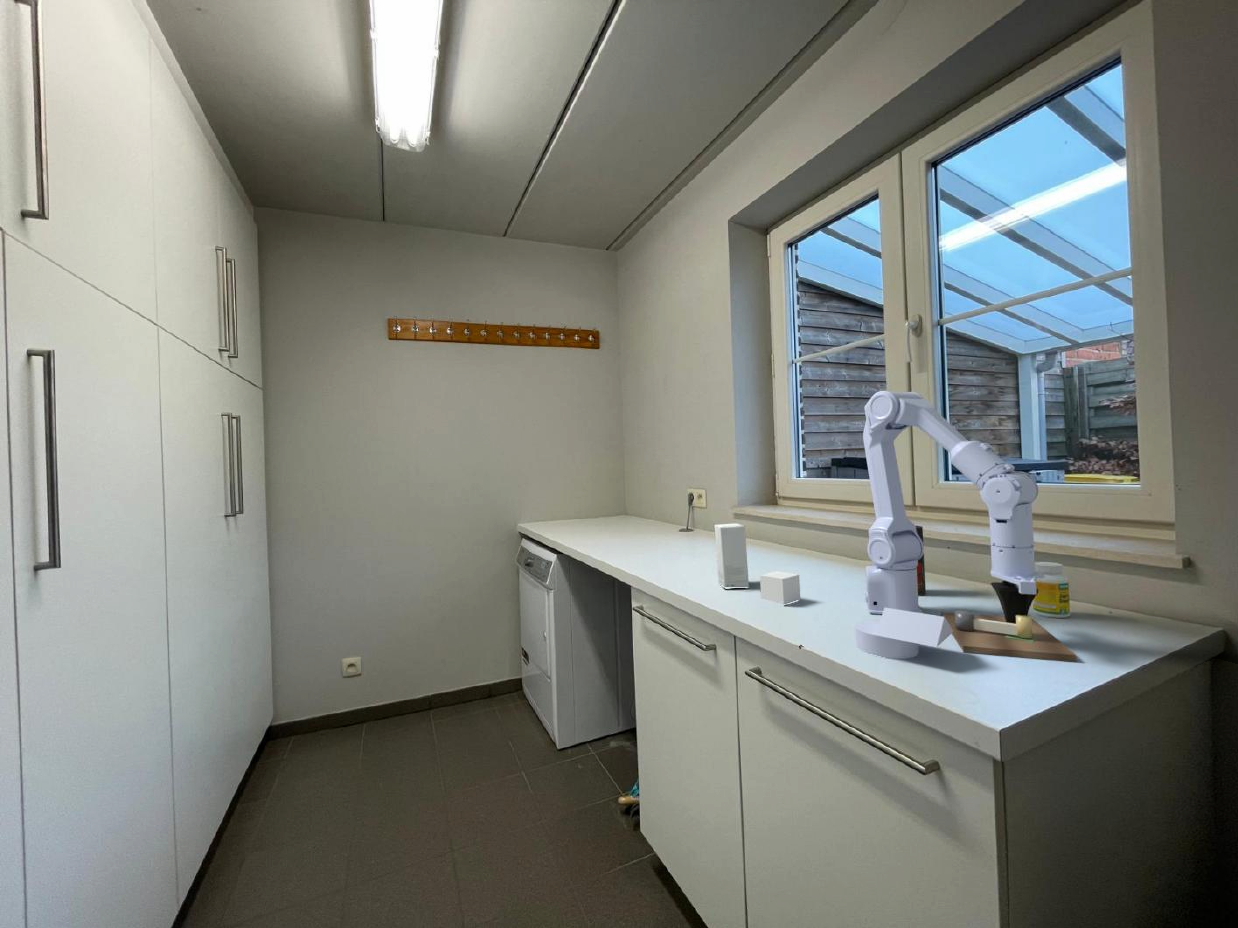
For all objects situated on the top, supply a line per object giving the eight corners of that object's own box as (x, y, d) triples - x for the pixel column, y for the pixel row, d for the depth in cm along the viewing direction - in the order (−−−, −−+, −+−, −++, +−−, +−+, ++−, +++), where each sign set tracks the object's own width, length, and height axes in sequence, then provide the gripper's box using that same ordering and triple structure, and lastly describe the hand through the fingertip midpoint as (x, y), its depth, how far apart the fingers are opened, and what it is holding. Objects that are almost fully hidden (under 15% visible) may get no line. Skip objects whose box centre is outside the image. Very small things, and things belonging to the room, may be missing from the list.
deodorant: (926, 590, 118) (923, 525, 118) (925, 596, 113) (922, 528, 113) (896, 588, 121) (893, 524, 121) (894, 594, 116) (891, 527, 116)
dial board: (963, 652, 81) (963, 645, 81) (941, 617, 98) (941, 611, 98) (1076, 661, 75) (1076, 654, 75) (1031, 623, 93) (1031, 617, 93)
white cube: (761, 601, 115) (759, 574, 115) (777, 596, 119) (776, 570, 119) (783, 606, 110) (782, 578, 110) (800, 601, 114) (799, 574, 114)
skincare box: (749, 589, 126) (746, 526, 127) (722, 590, 127) (719, 527, 127) (741, 581, 135) (739, 522, 135) (716, 582, 135) (713, 523, 135)
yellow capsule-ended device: (954, 628, 88) (953, 609, 88) (957, 624, 90) (956, 605, 90) (1031, 640, 81) (1030, 619, 81) (1033, 635, 83) (1032, 615, 83)
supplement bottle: (1039, 608, 101) (1037, 560, 101) (1074, 614, 96) (1072, 563, 96) (1028, 614, 98) (1026, 563, 98) (1064, 620, 93) (1062, 567, 93)
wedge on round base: (954, 652, 81) (868, 635, 90) (952, 610, 81) (866, 597, 90) (937, 670, 75) (847, 649, 84) (935, 624, 75) (845, 608, 84)
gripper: (1059, 553, 77) (1064, 644, 77) (1026, 539, 90) (1030, 616, 90) (1002, 552, 80) (1006, 640, 80) (978, 538, 93) (982, 613, 93)
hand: (1015, 627), depth 85 cm, fingers closed
